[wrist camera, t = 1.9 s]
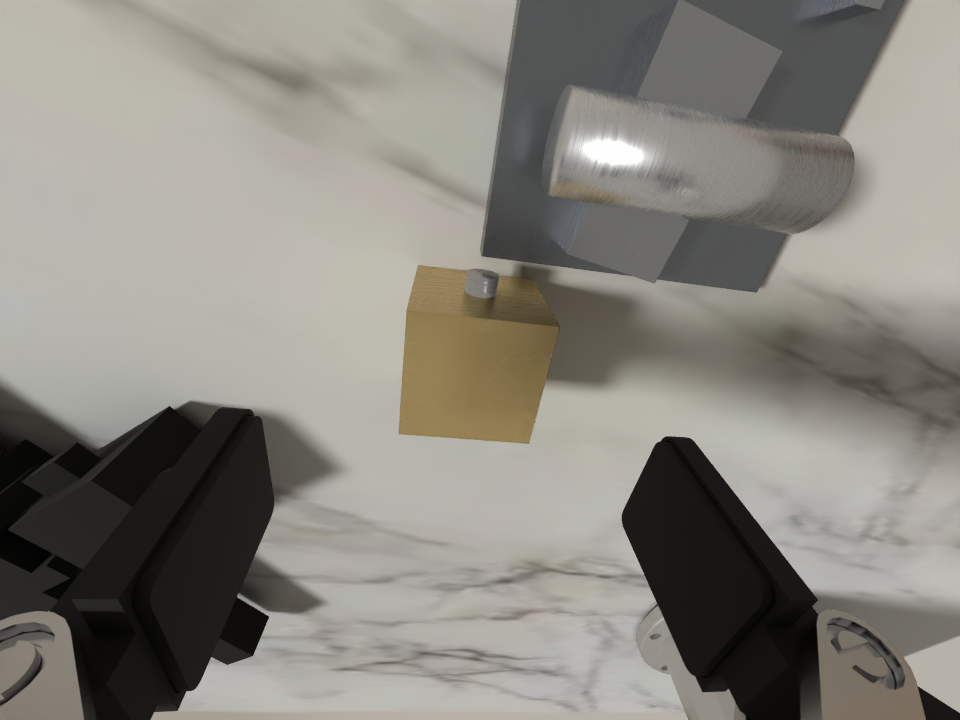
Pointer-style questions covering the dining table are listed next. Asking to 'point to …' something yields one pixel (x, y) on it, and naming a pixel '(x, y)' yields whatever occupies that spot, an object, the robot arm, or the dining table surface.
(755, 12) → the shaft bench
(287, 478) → the dining table surface
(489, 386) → the block
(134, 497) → the toy
